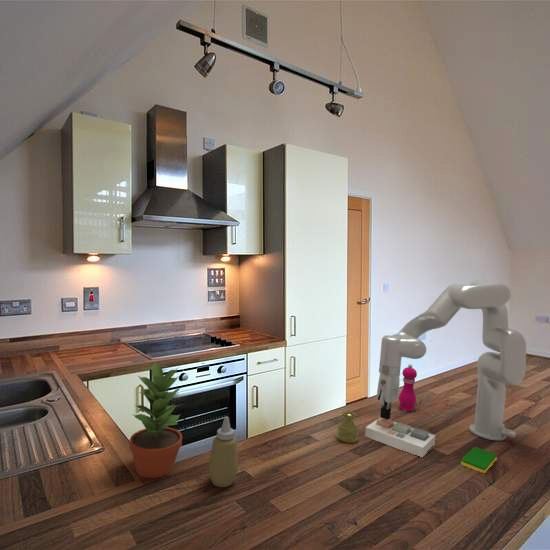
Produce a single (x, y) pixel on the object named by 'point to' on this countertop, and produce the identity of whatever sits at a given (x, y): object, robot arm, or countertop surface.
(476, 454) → the dish sponge
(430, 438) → the key pad
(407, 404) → the pepper mill
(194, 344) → the countertop surface
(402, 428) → the sage key
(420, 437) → the charcoal key
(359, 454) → the countertop surface
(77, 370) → the countertop surface
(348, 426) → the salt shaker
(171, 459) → the potted plant
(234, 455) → the squeeze bottle
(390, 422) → the terracotta key
